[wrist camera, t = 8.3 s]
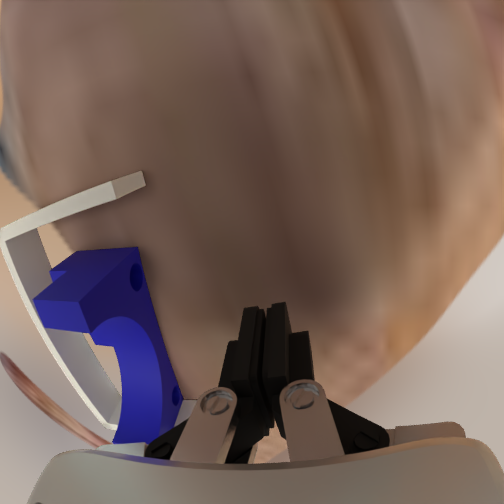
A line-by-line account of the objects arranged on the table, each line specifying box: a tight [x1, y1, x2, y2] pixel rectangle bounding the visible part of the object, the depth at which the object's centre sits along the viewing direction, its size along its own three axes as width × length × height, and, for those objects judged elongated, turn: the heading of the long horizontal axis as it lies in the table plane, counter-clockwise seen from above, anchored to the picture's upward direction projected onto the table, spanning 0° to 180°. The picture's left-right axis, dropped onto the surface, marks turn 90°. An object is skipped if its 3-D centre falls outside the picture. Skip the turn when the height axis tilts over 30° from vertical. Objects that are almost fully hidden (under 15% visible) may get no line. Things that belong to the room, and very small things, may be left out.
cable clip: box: [32, 247, 183, 444], centre depth 15 cm, size 12×4×6 cm, turn 5°
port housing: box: [0, 171, 197, 430], centre depth 16 cm, size 17×10×3 cm, turn 12°
